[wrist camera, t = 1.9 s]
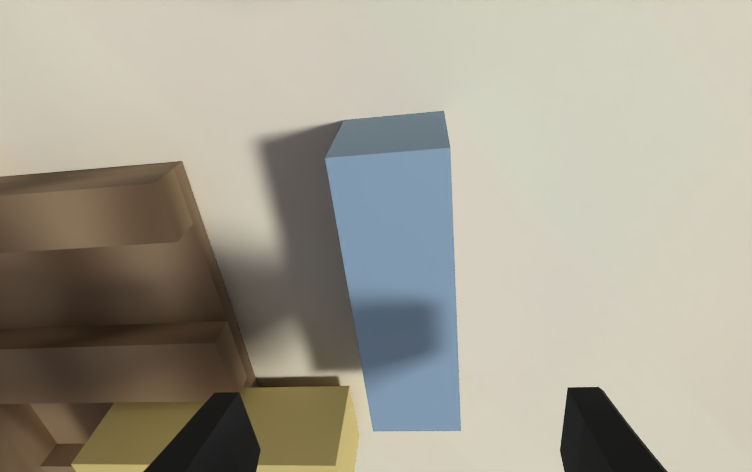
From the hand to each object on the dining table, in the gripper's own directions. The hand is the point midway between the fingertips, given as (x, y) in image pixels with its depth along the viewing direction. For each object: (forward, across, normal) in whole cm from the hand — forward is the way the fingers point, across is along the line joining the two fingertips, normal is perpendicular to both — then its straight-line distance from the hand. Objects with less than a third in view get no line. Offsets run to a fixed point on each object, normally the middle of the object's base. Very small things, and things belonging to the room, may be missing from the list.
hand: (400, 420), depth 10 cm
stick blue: (+7, 0, 0) cm, 7 cm away
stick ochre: (+6, +8, +7) cm, 12 cm away
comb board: (+7, +13, +4) cm, 15 cm away
